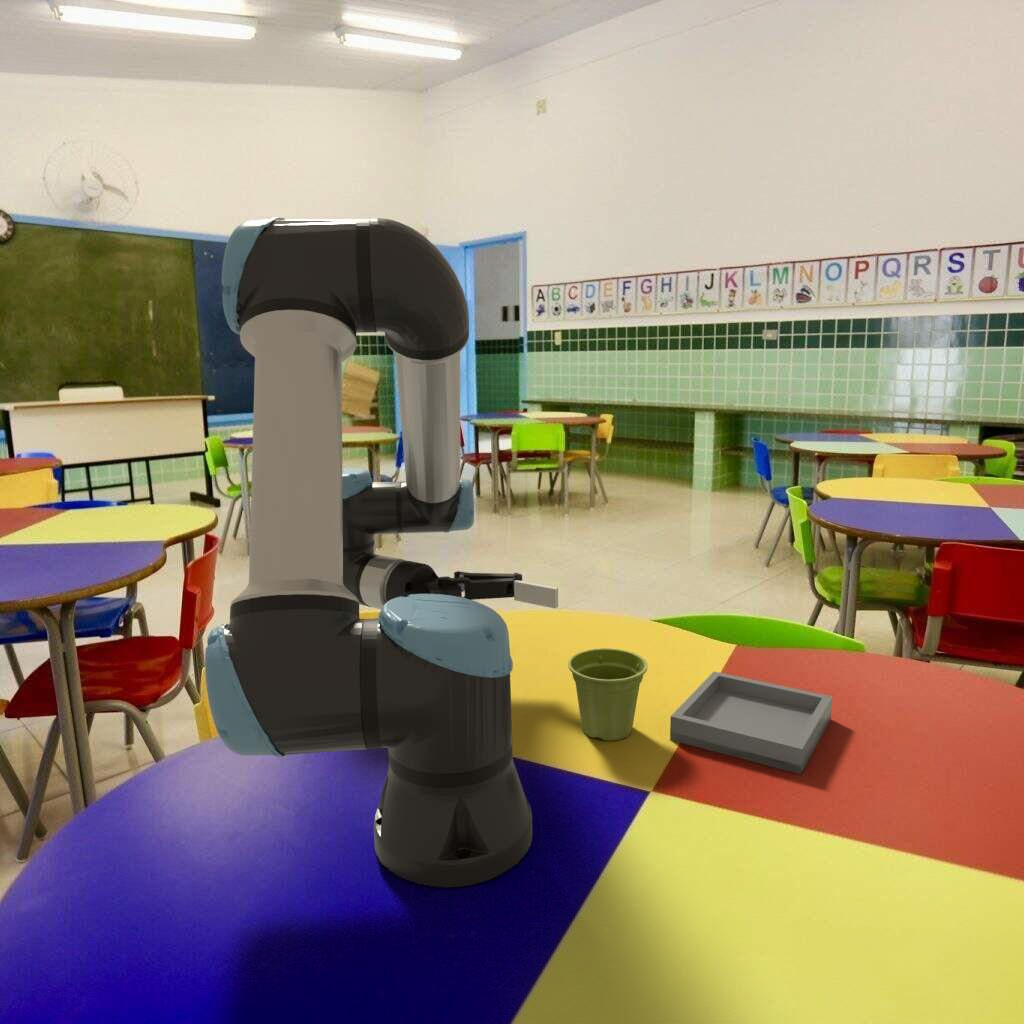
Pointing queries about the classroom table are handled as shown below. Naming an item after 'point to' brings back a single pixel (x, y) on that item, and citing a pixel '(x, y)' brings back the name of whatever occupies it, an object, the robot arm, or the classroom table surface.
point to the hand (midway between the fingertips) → (530, 613)
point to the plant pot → (607, 690)
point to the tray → (753, 721)
